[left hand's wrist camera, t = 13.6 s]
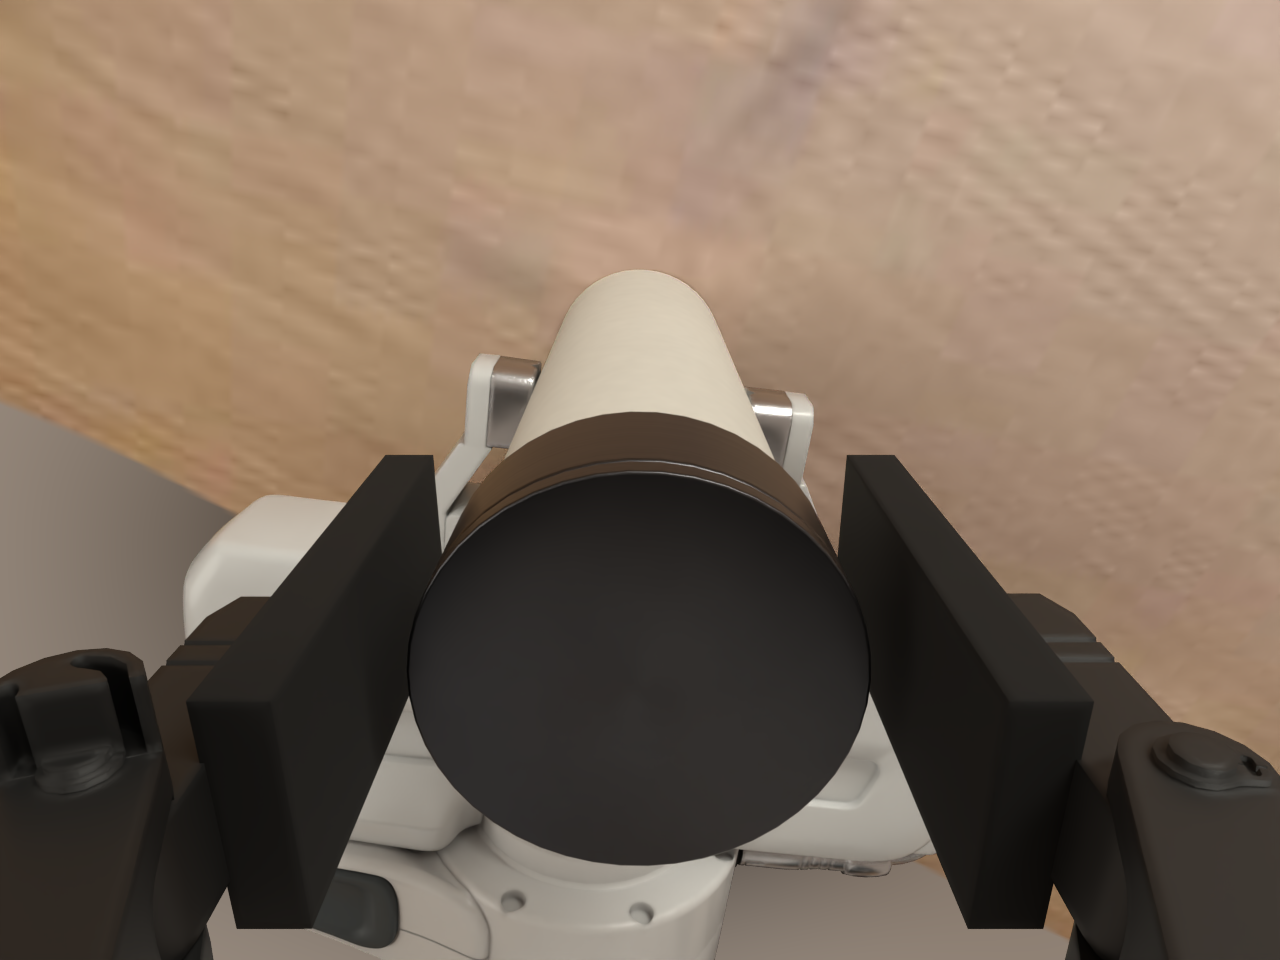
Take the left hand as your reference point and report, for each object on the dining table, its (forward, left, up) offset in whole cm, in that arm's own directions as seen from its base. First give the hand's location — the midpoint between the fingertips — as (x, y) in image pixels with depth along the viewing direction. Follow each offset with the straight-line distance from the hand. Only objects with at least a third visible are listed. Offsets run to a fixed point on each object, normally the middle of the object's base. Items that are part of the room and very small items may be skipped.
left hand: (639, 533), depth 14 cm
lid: (0, 0, +4) cm, 4 cm away
